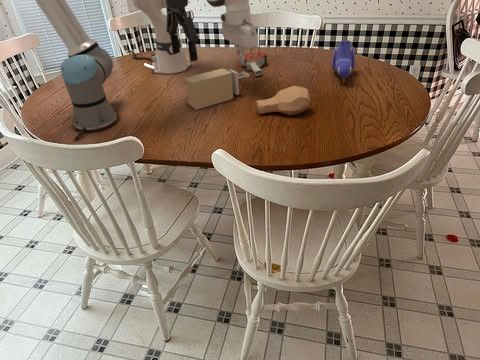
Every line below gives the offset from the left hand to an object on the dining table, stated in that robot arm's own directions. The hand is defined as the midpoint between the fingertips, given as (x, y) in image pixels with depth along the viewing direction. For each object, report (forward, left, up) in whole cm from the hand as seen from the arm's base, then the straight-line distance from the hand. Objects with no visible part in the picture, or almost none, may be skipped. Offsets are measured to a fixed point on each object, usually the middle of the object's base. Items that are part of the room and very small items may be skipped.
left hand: (185, 56), depth 133 cm
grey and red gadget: (+36, -26, -18) cm, 48 cm away
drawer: (+3, -14, -17) cm, 22 cm away
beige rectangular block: (-1, -8, -18) cm, 20 cm away
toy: (+19, -65, -18) cm, 70 cm away
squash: (-13, -36, -18) cm, 43 cm away
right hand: (+7, -21, -3) cm, 22 cm away
